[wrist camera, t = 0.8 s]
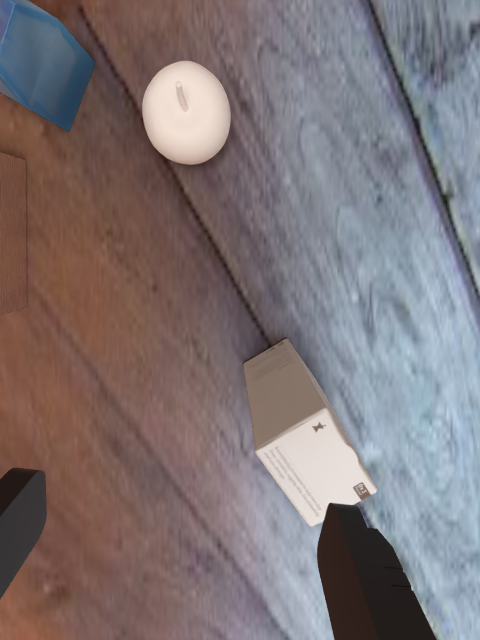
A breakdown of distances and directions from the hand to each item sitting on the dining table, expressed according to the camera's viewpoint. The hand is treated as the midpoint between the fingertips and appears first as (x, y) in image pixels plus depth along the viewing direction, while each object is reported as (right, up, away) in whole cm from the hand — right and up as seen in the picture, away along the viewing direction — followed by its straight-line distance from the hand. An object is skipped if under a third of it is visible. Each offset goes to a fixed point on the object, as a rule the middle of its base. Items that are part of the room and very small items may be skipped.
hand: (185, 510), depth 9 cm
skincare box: (+7, -1, +28) cm, 28 cm away
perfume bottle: (-15, +27, +20) cm, 37 cm away
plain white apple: (-3, +23, +21) cm, 31 cm away
